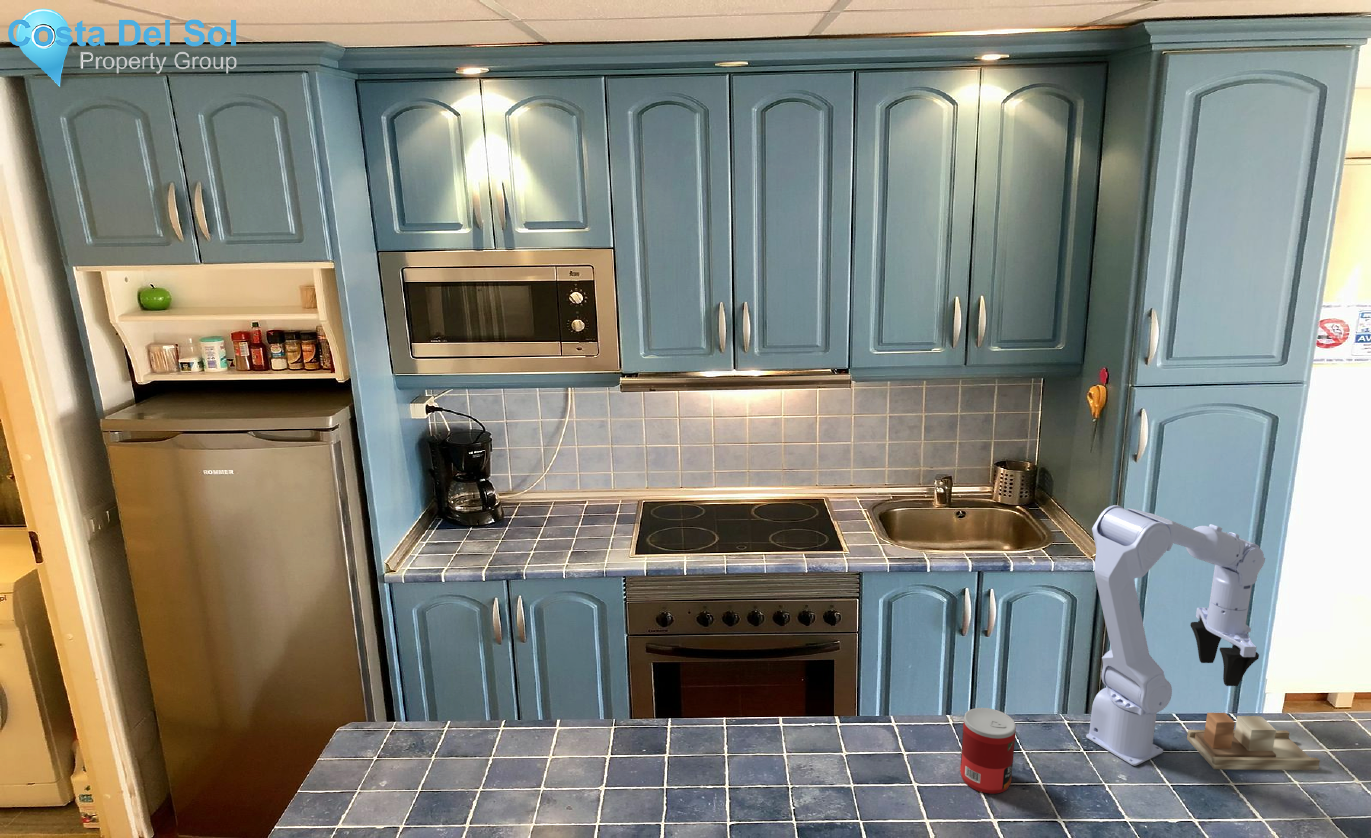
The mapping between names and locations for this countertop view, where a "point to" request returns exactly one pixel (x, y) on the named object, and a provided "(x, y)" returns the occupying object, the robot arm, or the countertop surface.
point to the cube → (1255, 733)
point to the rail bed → (1285, 758)
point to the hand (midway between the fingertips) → (1218, 673)
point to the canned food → (987, 750)
